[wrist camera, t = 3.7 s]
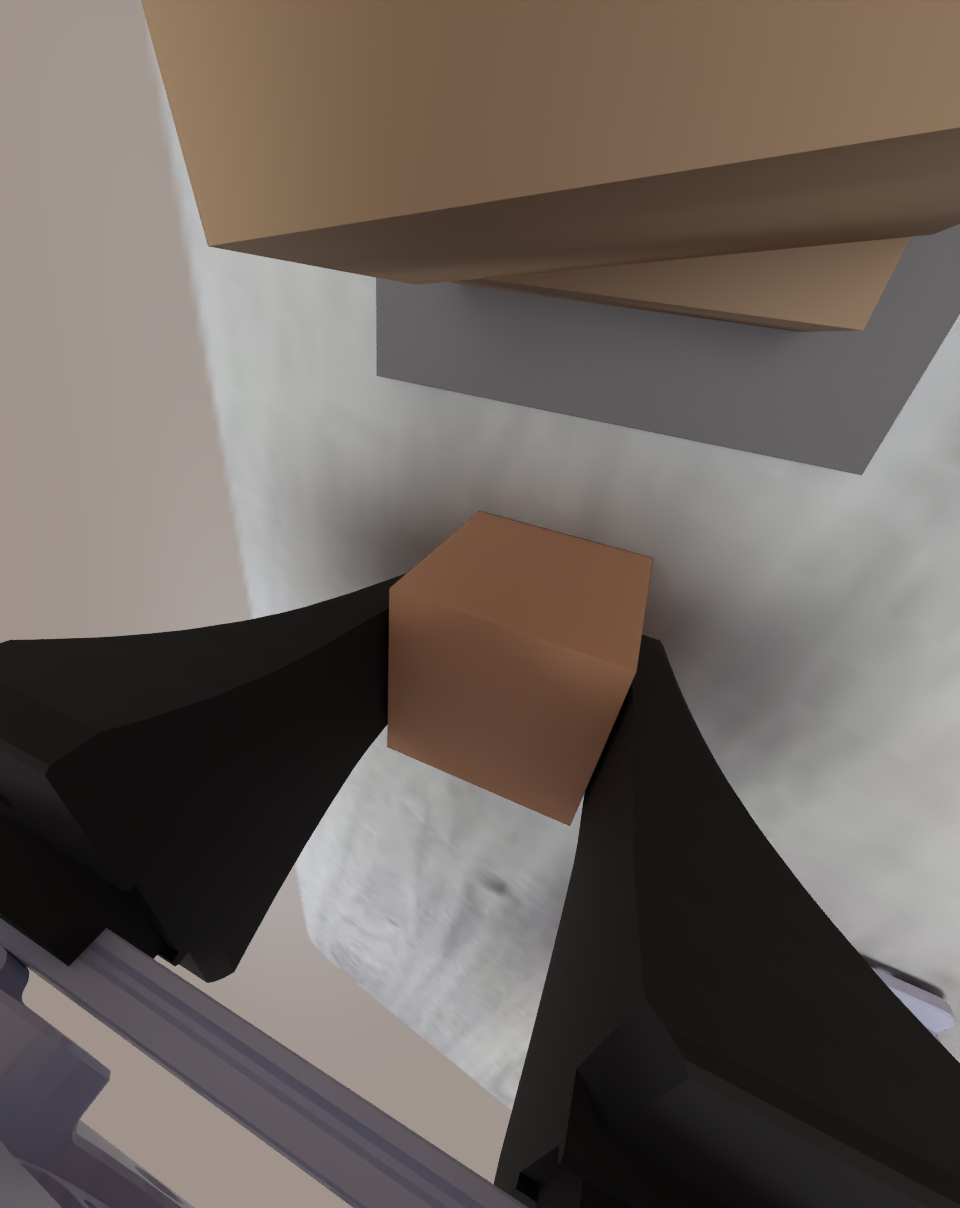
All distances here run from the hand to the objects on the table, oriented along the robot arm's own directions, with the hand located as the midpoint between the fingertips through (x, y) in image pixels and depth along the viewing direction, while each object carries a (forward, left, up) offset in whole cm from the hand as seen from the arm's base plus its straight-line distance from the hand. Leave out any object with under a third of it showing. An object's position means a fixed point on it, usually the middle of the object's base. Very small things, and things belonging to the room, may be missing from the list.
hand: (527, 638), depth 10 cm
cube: (0, 0, -1) cm, 1 cm away
